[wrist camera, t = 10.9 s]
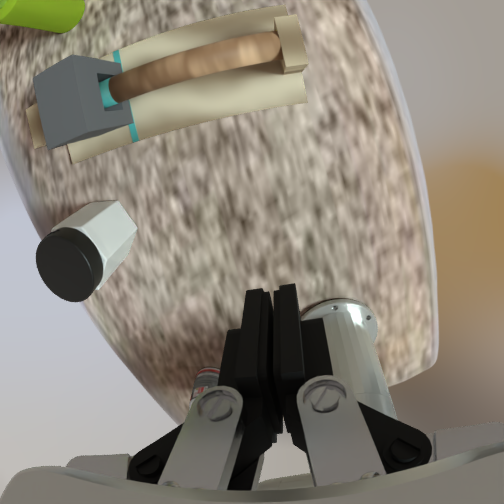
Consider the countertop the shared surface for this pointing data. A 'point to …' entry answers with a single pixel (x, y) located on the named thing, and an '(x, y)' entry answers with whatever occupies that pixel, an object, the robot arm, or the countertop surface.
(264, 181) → the countertop surface
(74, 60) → the collar
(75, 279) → the jar
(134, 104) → the pipe rig
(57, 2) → the soap dispenser
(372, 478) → the robot arm
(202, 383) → the pill bottle
